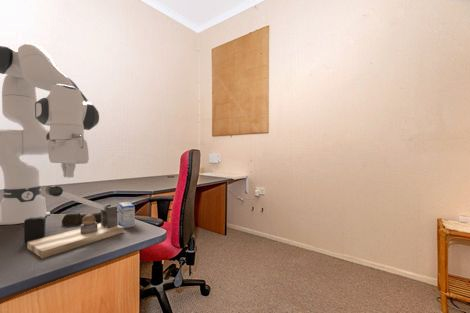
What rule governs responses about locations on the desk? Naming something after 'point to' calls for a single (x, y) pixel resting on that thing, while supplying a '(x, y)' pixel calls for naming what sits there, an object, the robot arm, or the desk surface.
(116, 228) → the cracker base
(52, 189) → the lever
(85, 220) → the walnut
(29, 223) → the ink cartridge
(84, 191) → the desk surface
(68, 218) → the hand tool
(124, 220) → the medicine box
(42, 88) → the robot arm
